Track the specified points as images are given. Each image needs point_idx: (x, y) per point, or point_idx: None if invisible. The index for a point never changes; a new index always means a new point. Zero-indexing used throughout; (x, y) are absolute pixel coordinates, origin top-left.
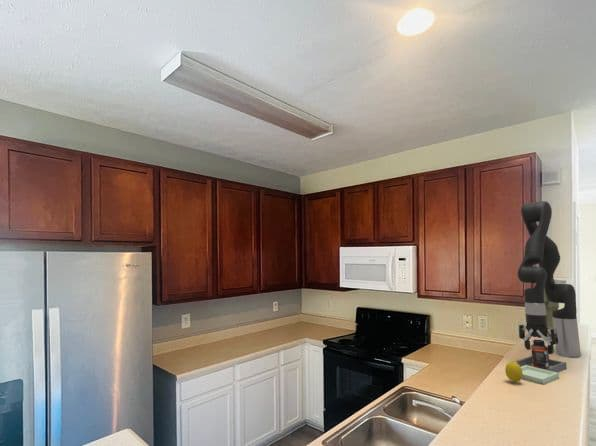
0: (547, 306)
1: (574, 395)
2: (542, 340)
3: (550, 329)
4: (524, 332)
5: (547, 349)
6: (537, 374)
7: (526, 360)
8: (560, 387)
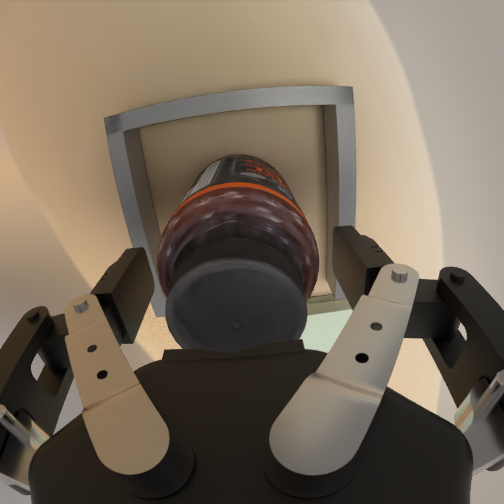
0: None
1: (433, 366)
2: (267, 284)
3: (492, 465)
4: (26, 368)
5: (317, 249)
6: (312, 345)
7: (148, 229)
8: (401, 355)
